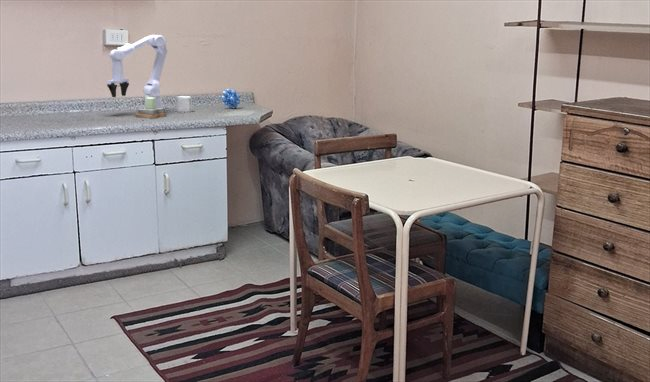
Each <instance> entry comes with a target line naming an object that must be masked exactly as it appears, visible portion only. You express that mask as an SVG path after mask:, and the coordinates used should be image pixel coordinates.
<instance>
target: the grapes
mask: <svg viewBox="0 0 650 382" xmlns="http://www.w3.org/2000/svg"><path fill="white" fill-rule="evenodd" d="M240 98H241V97H240V95H239V94H238V93H237V91H236V90H235V89H231V88H227V89H226V90H224V91H222V96H221V100H222V101H223V105H224V106H227V107H228V108H229V109H233V108H235V109H236V108H238V105H239V104H240V103H241V100H240Z"/></svg>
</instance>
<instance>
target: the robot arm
mask: <svg viewBox="0 0 650 382" xmlns="http://www.w3.org/2000/svg"><path fill="white" fill-rule="evenodd" d="M166 43H167V40H166V39H165V37H164V36H163V35H161V34H150V35H148V36H145V37H143V38H142V39H139V40H138V41H136V42H134V43H124V45H122V46H120V47H119V46H118V47H116V49H112V50H111V51H110V52H109V58H110V59H111V73H112V74H111V75H112V76H111V77H112V79H110V80H109V79H108V80H107V83H106V85H107V88H108V90H109V91H110V95H111V98H116V97H117V88H118V84H119V87H120V94H121V97H126V96H127V91H128V87H129V86H130V82H129V78H124V68H123V61H124V59H125V58H126V57H128V56H130V55H133V54H134V53H135V50H137V49H140V48H142V47H144V46H147V45H149V46H151V47H152V48H153V49H154V50H155V52H156V55H155V58H154V61H153V62H154V63H153V65H152V69H151V73H150V77H149V79H148V80H147V81H146V84H145V85H144V87H143V89H142V91H143V94H144V96H145V97H144V99H145V98H148V97H151V98H156V106H157V108H163V99H162V98H161V97H160V93H161V90H160V88H161V84H160V78H161V75H162V72H163V68H164V64H165V61H166V57H167V54H168V49H167V44H166Z"/></svg>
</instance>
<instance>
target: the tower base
mask: <svg viewBox="0 0 650 382" xmlns="http://www.w3.org/2000/svg"><path fill="white" fill-rule="evenodd" d="M134 117H135V118H137V119H138V118H140V119H147V118H149V119H148V120H154V118H155V119H159V118H160V117H161V118H165V117H167V112H164V113H161V114H155V115H146V114H138V113H135V114H134Z"/></svg>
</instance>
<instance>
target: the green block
mask: <svg viewBox="0 0 650 382" xmlns="http://www.w3.org/2000/svg"><path fill="white" fill-rule="evenodd" d="M144 108H145V109H152V110H153V109H157V106H156V98H151V97H148V98H145V97H144Z"/></svg>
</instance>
